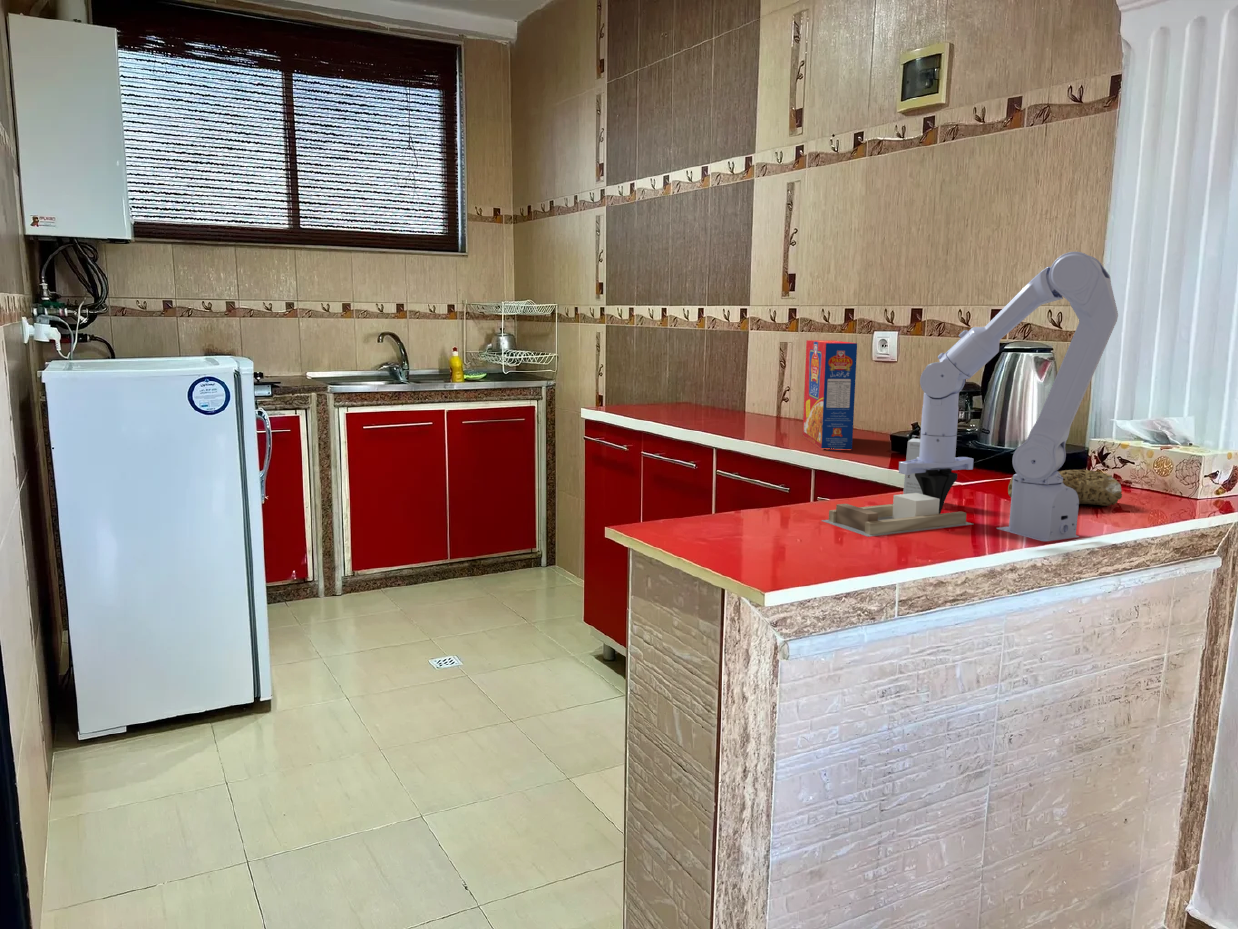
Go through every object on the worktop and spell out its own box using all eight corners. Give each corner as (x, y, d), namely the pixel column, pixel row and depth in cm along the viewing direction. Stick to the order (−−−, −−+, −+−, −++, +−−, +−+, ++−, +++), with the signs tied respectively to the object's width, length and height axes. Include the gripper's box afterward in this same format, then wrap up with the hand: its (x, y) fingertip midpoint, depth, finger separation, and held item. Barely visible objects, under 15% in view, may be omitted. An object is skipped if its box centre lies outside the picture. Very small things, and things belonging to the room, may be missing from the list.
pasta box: (802, 436, 260) (806, 340, 256) (830, 436, 260) (834, 340, 256) (821, 450, 233) (826, 343, 228) (851, 450, 233) (857, 343, 228)
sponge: (1097, 505, 172) (993, 481, 174) (1112, 469, 169) (1006, 444, 171) (1119, 533, 160) (1007, 507, 162) (1137, 494, 157) (1022, 468, 159)
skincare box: (901, 505, 164) (905, 440, 162) (906, 501, 168) (910, 437, 166) (936, 509, 161) (940, 443, 159) (940, 504, 165) (945, 440, 163)
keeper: (938, 522, 148) (939, 498, 147) (914, 524, 146) (916, 501, 145) (915, 515, 153) (916, 492, 152) (892, 518, 151) (893, 495, 150)
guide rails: (965, 523, 147) (966, 505, 147) (869, 534, 139) (870, 516, 139) (920, 511, 157) (922, 494, 156) (828, 520, 149) (829, 503, 148)
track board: (973, 527, 147) (973, 523, 147) (867, 540, 138) (868, 536, 138) (921, 512, 158) (922, 509, 158) (820, 523, 149) (820, 520, 149)
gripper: (953, 429, 155) (948, 505, 158) (888, 433, 150) (883, 512, 152) (985, 434, 149) (979, 513, 151) (917, 438, 143) (912, 520, 145)
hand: (933, 513), depth 151 cm, fingers closed
